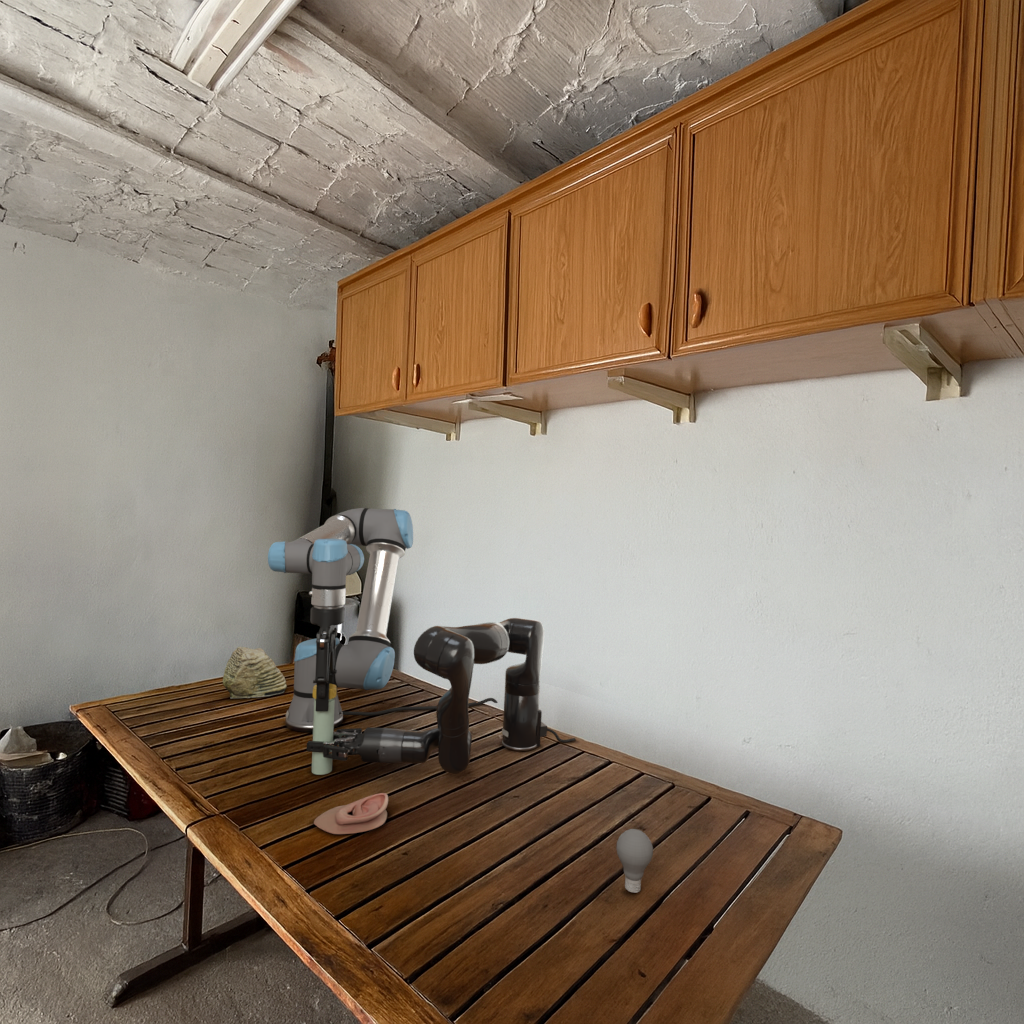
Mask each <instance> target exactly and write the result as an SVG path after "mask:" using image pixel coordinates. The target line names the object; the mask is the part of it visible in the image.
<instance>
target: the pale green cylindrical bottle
mask: <svg viewBox="0 0 1024 1024" xmlns="http://www.w3.org/2000/svg"><path fill="white" fill-rule="evenodd" d="M334 704H335V699H334V698H333V699H329V707H328V711H316V699H314V719H313V732H312V741H324V742H328V741H333V732H334V729H335V728H334ZM332 746H334V745H332ZM332 771H333V759H330V758H324V757H323V752H311V773H312V774H313V775H317V776H323V775H327V774H330V773H331V772H332Z"/></svg>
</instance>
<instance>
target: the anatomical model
mask: <svg viewBox="0 0 1024 1024" xmlns="http://www.w3.org/2000/svg"><path fill="white" fill-rule="evenodd" d="M388 805H389V795H388V793H386V792H379V793H375V794H371V795H369V796H366V797H363V798H360V799H358V800H355V801H352V802H350V803H347V804H344V805H343V804H342V805H339V806H335V807H333V808H330V809H328V810H326V811H325V812H322V813H321V814H320V815H318V816H317V817H316V818H315V819H314V820H313V824H314V825H315V826H316V827H317V828H319V829H320V830H322V831H324V832H327V833H328V834H333V835H349V834H357V833H363V832H368V831H372V830H375V829H377V828H379V827H381V826H382V825H384V824H385V823H386V821H387V818H388V812H387V811H388V810H386V809H387V808H388Z"/></svg>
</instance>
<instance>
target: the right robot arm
mask: <svg viewBox="0 0 1024 1024" xmlns="http://www.w3.org/2000/svg"><path fill="white" fill-rule="evenodd" d="M544 644H545V627H544V624H543V622H542V621H540V620H536V619H528V618H521V617H509V618H507V619H504V620H501V621H499V622H482V623H477V624H469V625H463V626H445V625H444V626H443V625H434V626H431V627H429V628H427V629H425V631H423V632H422V633H421V634H420V635H419V637H418V638H417V640H416V641H415V643H414V647H413V657H414V660H415V661H414V662H416V664H417V665H418V666H419V667H420V668H422V669H423V670H424V671H427V672H429V673H431V674H433V675H434V676H437V677H439V678H442V679H444V680H448V681H449V683H450V688H449V689H448V690H447V691H446V692H444V694H443V695H441V697H440V698H439V700H438V702H437V705H436V706H437V709H435V712H436V713H435V714H436V723H437V727H435V728H431V729H426V730H407V729H406V730H405V729H399V728H388V727H369V726H368V727H366V728H365V729H364V731H363V728H361V727H356V728H355V727H354V728H337V729H336V730H335V731H333V741H328V742H324V741H313V740H308V741H307V742H306V751H307V752H309V753H312V752H323V757H324V758H330V759H332V760H336V761H342V762H346V761H348V760H349V759H348V758H349V757H350V756H356V755H357V756H360V759H361V761H362V762H363V763H375V764H376V763H378V764H425V763H426V762H428V760H429V759H430V756H431V754H432V752H433V751H435V750H437V755H438V756H437V758H438V759H437V760H438V763H439V766H440V767H441V769H442V770H443V771H444V772H446V773H448V774H449V775H450V774H452V775H458V774H461V773H463V772H464V771H465V770H466V769H467V768H468V766H469V765H470V761H471V752H472V741H473V734H472V732H471V731H470V715H469V714H470V713H469V707H468V703H469V699H470V693H471V687H472V680H473V673H474V665H486V664H492V663H495V662H497V661H500V660H501V659H503V658H504V657H505V656H506V655H507V653H510V654H516V655H522V656H525V661H524V662H521V663H517V664H513V665H510V666H507V668H505V675H504V697H503V719H502V720H503V721H502V723H503V724H502V728H501V734H502V735H501V736H502V739H501V745H502V747H504V748H506V749H507V750H510V751H515V752H528V751H532V750H535V749H536V748H539V747H541V739H542V738H543V737H547V736H548V732H549V733H551V734H552V735H554V737H555V738H556V740H557V741H558V742H560V743H563V744H564V743H566V744H567V743H572V742H575V741H577V740H576V738H575V737H573V738H568V739H562V738H560V736H559V735H558V733H557V732H556V731H554V730H553V729H551V728H548V725H546V724H545V723H544V722H543V721H542V718H543V717H542V714H543V712H542V710H541V708H540V692H541V691H540V690H541V674H542V667H543V654H544V653H543V652H544ZM332 745H333V746H332Z"/></svg>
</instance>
